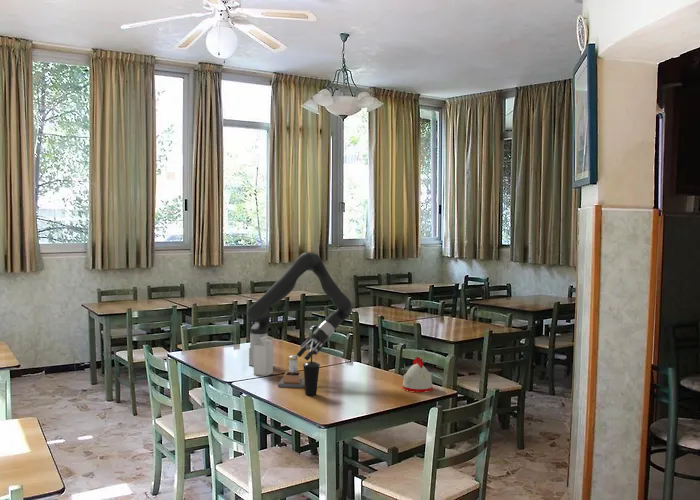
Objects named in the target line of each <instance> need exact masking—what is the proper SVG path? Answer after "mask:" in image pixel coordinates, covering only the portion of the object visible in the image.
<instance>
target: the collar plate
mask: <svg viewBox="0 0 700 500" xmlns="http://www.w3.org/2000/svg"><path fill="white" fill-rule="evenodd" d="M277 388H295V389H296V388H297V389H305V380H304V378H303V372H301V371H300V372H299V371H297V376H296V375H289V371H285V373H284V374H283V377H282V378H280V380H279V382H278V384H277Z"/></svg>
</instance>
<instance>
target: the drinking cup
mask: <svg viewBox="0 0 700 500" xmlns="http://www.w3.org/2000/svg"><path fill="white" fill-rule="evenodd" d="M302 366H303V377H304V380H305V386H304V393H305V394H304V395H305V396H307V397H314V396H317V393H318V390H317V389H318V383H319V372H320V367H321V364H320V363H318V362H316V361H313V355H312V350H311V357H310V361H307V362H305V363H303V364H302Z"/></svg>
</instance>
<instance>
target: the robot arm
mask: <svg viewBox="0 0 700 500" xmlns="http://www.w3.org/2000/svg"><path fill="white" fill-rule="evenodd" d="M306 271H309V272H310V271H311V272H313V273H314V275H315V276H317V278H318V280H319V283H320V286H321V288H322V290H323V292H324V293H325V294H326V296H327V297H328V299H329V300H330V301H331V302H333V303H334V304H335V306H336V307H337V309H336V310H334V312H331V313H329V314H328V315H327V317H326V318H325V319H324V320H323V321H322V322H320V324H319V325H318V326H317V327H316V328H315V330H314V331H313V332H312V334H311V336H312V337H311V338H309V337H307V338H306V339H305V341H303V342H302V344H300V346H299V347H301V348H300V349H299V351H298V352H297V353H296V356H297V357H298V358H301V357H302V355H304V353H305V352H306V351H308V350H309V351H308V352H307V354H305V356H304V357H303V358H304V359H305V360H306V361H307V362H309V360H311V350H312V356H314V355H315V356H316V355H317V354H318V353H319V352H320V350H321V349H322V348H323V347H324V344H325V343H326V342H327V341H328V340H329V339H330V337H331V336H332V335H333V333H334V332H335V330H336V329H337V328H338V327H339V326H340V324H341V323H343V322H344V321H345V320H346V319H348V318H349V316H350V315H351V313H352V311H353V305H352V301H350V299H349V298H348V297H347V296H346V295H345V294H344V292H342V290H341V289H340V288H339V286H338V285H337V284H336V282H335V281H334V280H333V277H331V275H330V273H329V271H328V270H327V268H326V266H325V264H324V262H323V260H322V259H321V257H320V256H319V255H318V254H317V253H315V252H303V253H301V254H300V255H299V256H298V258H296V260H295V261H294V262H293V264H292V265H291V266H290V268H289V269H287V270H286V271H285V272H284V274H282V275H281V276H280V277H279V278H278V279H277V280H276V281H275V282H274V284H272V285H271V286H270V287H269V288H268V290H267V291H266V292H265V293H264V294H262V296H261V297H260V298H259V299H257V301H254V303H253V304H251V305H250V306H249V307H248V310H247V317H248V319H249V320H250V321H253V322H254V323H253V324H252V326H251V327H250V334H249V335H250V336H249V348H248V365H249V366H252V367H254V345H255V344H256V343H257V342H258V341H260V338H262V337H265V336H267V337H268V331H269V328H270V320H271V311H270V308H271V307H272V306H274V305H276V304H277V303H279V302H280V301H282V300H284V299H285V298H286V297H288V295H289V294H291V292H292V291H293V290H294V288H295V286H296V284H297V280H299V278H300V277H301V276H302V275H303V274H304V273H306Z"/></svg>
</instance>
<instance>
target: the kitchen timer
mask: <svg viewBox="0 0 700 500" xmlns="http://www.w3.org/2000/svg"><path fill="white" fill-rule="evenodd" d="M412 363H413V364H412V365H411V366H410V367H409V368H408V369H407V371H406V373H405V374H404V375H403V382H402V390H404V389H405V390H404V391H406V390H408V391H407V392H409V391H414V392H413V393H415V392H425V391H430V392H431V390H432V391H433V382H432V380H433V376H432V373H429V371H428V369H427V368H426V367H425V366H424V361H423V358H421V357H419V356H416V358H414V360H412ZM425 393H426V392H425Z"/></svg>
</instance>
